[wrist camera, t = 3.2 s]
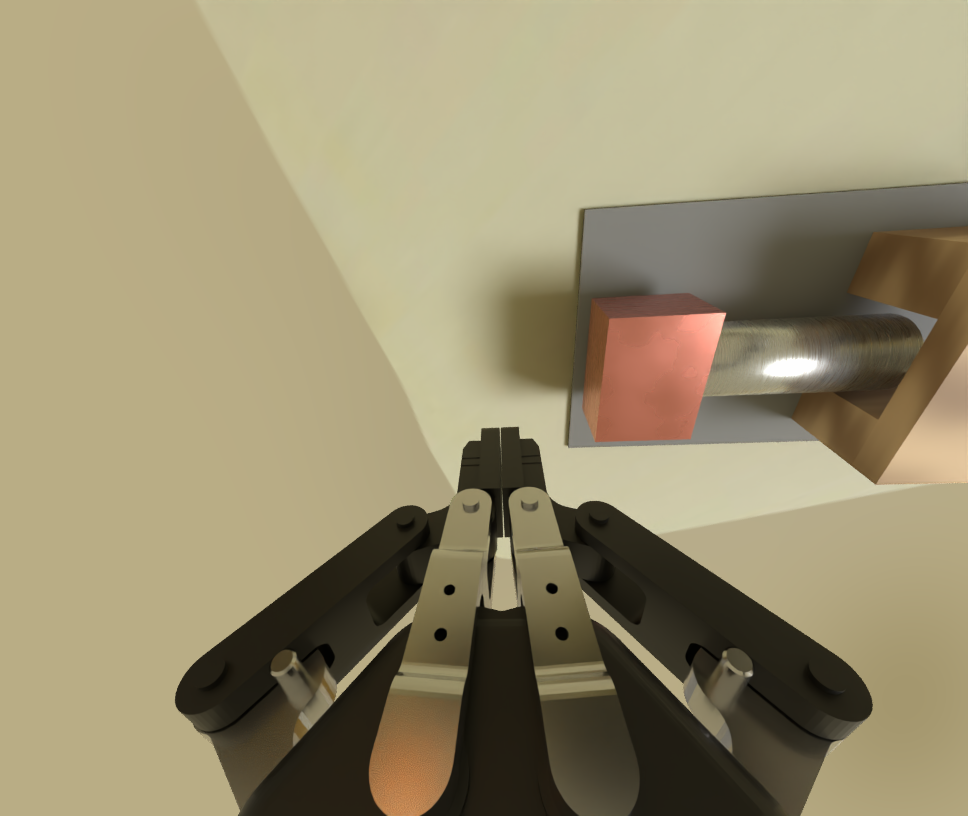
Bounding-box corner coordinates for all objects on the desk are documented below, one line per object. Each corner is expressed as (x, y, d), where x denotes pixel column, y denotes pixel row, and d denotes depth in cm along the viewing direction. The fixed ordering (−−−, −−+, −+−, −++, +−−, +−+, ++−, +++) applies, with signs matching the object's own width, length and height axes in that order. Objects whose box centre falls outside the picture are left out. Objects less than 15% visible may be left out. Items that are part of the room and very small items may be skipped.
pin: (579, 400, 24) (595, 442, 20) (587, 293, 20) (609, 318, 16) (824, 390, 23) (893, 433, 19) (878, 277, 19) (977, 300, 15)
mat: (584, 209, 18) (585, 209, 18) (1059, 176, 17) (1065, 176, 17) (568, 446, 26) (568, 447, 26) (894, 436, 25) (897, 438, 24)
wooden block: (873, 231, 18) (1030, 249, 13) (1024, 222, 18) (1252, 236, 12) (791, 418, 24) (875, 484, 19) (903, 414, 24) (1024, 481, 18)
